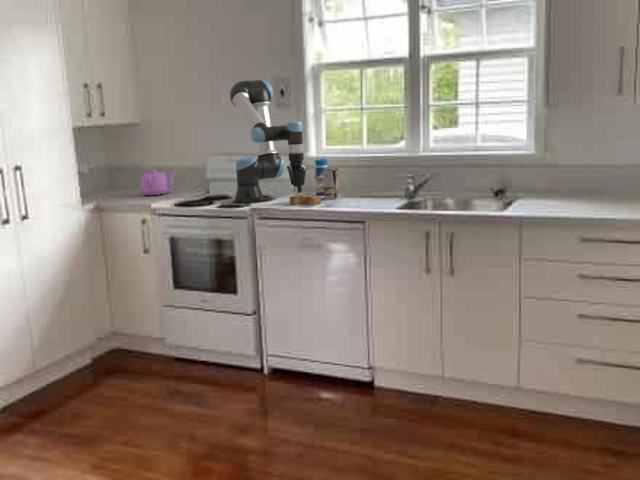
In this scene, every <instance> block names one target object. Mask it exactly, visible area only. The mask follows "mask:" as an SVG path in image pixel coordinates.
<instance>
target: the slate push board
mask: <svg viewBox="0 0 640 480" xmlns="http://www.w3.org/2000/svg"><path fill="white" fill-rule="evenodd" d="M332 204H333V202H329V201H324V200H323V201H322V200H321V204H320V205H315V206H313V205H305V204H301V205H290V200H288V201H282V202H276V203H275V205H280V206H286V207H287V206H288V207H294V208H303V209H311V208H315V207H316V208H317V207H321V206H325V205H332Z"/></svg>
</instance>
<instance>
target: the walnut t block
mask: <svg viewBox="0 0 640 480" xmlns="http://www.w3.org/2000/svg"><path fill="white" fill-rule="evenodd" d="M321 197H322V196H316V193H309V192H308V193H303V194H302V193H301V195H297V196H295V195H292V196H289V201H290V205H301V204H305V205H313V206H315V205H320V204H321V201H322V199H321Z"/></svg>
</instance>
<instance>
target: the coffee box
mask: <svg viewBox="0 0 640 480" xmlns="http://www.w3.org/2000/svg"><path fill="white" fill-rule="evenodd" d="M323 175H324V196H323V197H324V201H331V200H333V201H335V200H338V199H340V192H339V191H340V189H339V168H338V167H337V168H328V169H325V170H324V171H323Z"/></svg>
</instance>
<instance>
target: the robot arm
mask: <svg viewBox="0 0 640 480" xmlns="http://www.w3.org/2000/svg"><path fill="white" fill-rule="evenodd" d="M273 98H274V92H273V87H272V85H271V84H270V82H269V81H268V80H264V79H263V80H261V79H257V80H240V81H238V82H236V83H235V84H233V86H232V87H231V88H230V90H229V100H230V102H231V105H233V106H234V107H235V108H236V109H237V110H238V111H239V113H240V114H241V116H242V117H243V119H244V121H245V122H246V123H247V125H248V127H249V128H250V129H251V130H250V137H251V140H252V142H254V143H258V149H259V153H257V156H255V155H251V156H250V155H249V156H245V157H241V158H238V159H237V160H236V161H235V173H236V174H235V175H236V184H237V188H236V193H235V196H234V199H235V202H236V203H252V202H253V203H254V202H260V201H263V200H264V195H263V192H262V190H261V187H260V182H259V181H262V180H268V179H269V180H270V179H273V180H274V179H277V178H281V177H282V176H283V174H284V172H285V160H284V158H283V156H282V155H280V154H279V152H278V151H277V150H276V148H275V147H276V146H275V142H280V141H282V142H283V141H287V147H288V161H289V165H287V166H286V169H287V171H288V175H289V181H290V184H291V186H294V187H293V188H294V196H297V195H302V186H304V185H305V182H306V181H305V180H306V171H307V169H308V168H307V166H304V162H303V161H304V156H305V155H304V153H303V152H304V144H303V143H304V142H303V141H304V139H303V138H304V137H303V125H302V122H301V121H300V120H299V121H289V122H287V123H286V124H281V125H273V126H272V123H271V116H270V109H269V106H270V105H271V101H273Z"/></svg>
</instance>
